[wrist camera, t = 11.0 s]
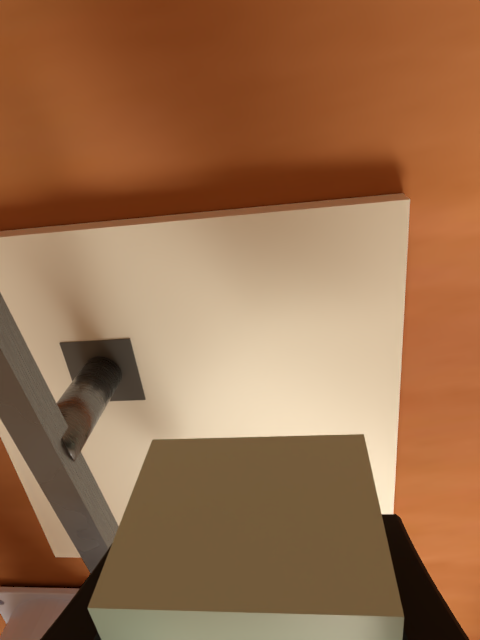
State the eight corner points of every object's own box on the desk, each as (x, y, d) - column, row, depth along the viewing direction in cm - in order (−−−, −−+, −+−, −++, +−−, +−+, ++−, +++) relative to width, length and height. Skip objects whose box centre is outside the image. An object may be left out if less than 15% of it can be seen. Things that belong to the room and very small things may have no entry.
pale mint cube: (362, 574, 12) (392, 766, 9) (186, 571, 13) (150, 749, 10) (363, 434, 10) (403, 616, 7) (152, 439, 11) (87, 607, 7)
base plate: (386, 543, 23) (390, 562, 22) (63, 541, 26) (54, 558, 25) (403, 193, 15) (410, 199, 14) (-69, 237, 18) (-88, 245, 17)
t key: (63, 230, 16) (-26, 286, 11) (170, 491, 22) (139, 597, 17) (23, 239, 16) (-78, 297, 12) (139, 493, 22) (100, 599, 17)
